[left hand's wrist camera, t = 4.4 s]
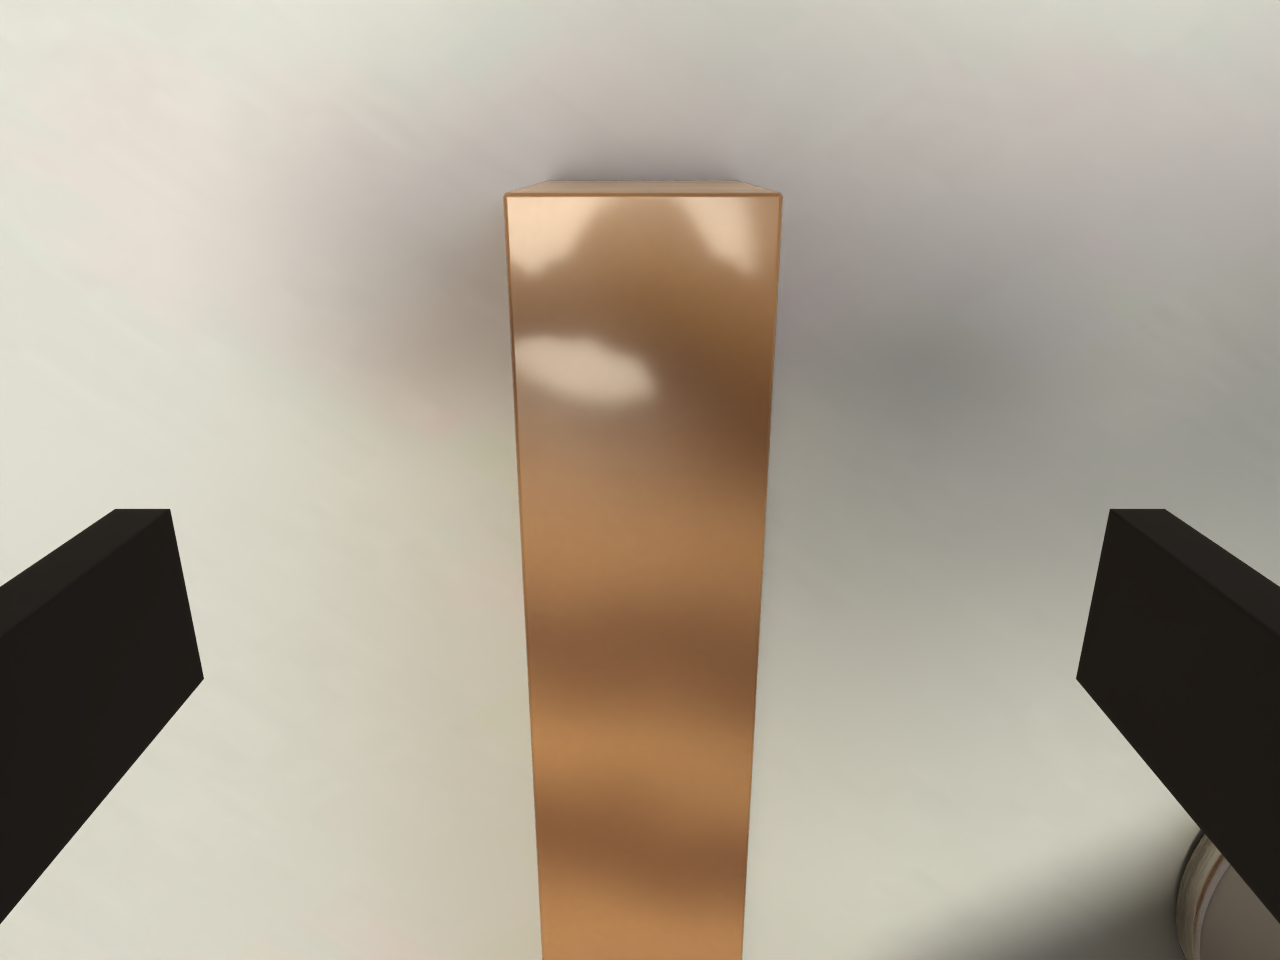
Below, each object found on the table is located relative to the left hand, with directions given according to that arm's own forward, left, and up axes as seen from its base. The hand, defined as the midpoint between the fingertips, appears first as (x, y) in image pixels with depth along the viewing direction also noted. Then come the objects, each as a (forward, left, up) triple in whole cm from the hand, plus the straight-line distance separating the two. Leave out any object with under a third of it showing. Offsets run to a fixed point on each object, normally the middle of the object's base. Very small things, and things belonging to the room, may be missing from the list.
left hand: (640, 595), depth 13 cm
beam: (-3, +32, -16) cm, 36 cm away
